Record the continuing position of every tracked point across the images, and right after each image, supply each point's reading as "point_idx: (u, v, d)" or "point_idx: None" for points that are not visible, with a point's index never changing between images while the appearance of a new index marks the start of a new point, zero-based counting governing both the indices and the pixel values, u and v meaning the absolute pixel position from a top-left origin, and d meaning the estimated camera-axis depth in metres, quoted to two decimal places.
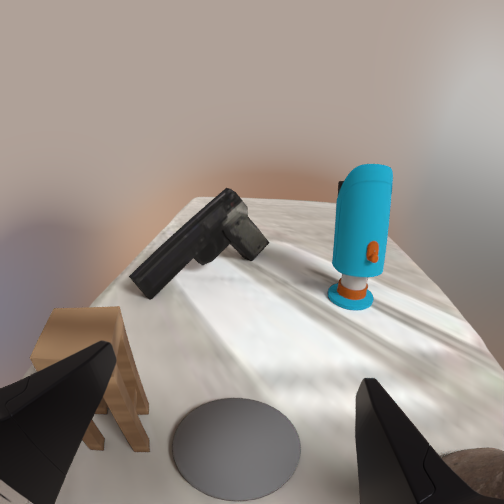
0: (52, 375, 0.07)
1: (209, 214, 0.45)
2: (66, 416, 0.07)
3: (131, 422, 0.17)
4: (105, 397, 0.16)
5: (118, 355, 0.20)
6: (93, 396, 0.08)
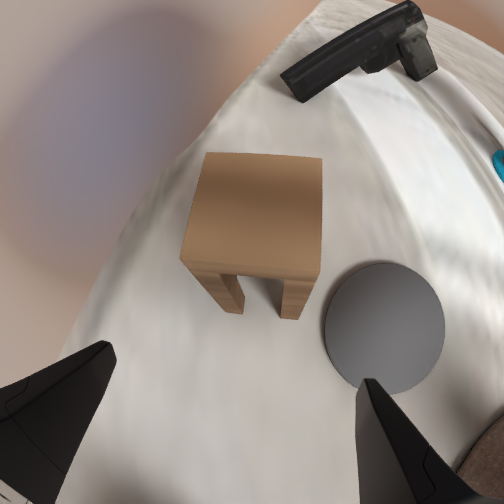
0: (52, 375, 0.07)
1: (388, 22, 0.23)
2: (66, 416, 0.07)
3: (300, 306, 0.18)
4: (285, 291, 0.15)
5: None
6: (93, 396, 0.08)
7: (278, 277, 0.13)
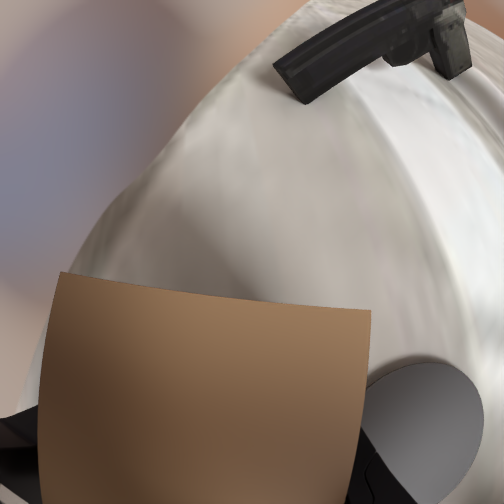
0: None
1: None
2: None
3: None
4: None
5: None
6: None
7: None
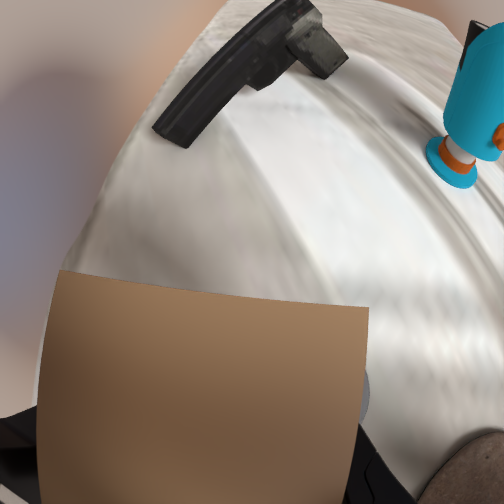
0: None
1: (265, 26, 0.22)
2: None
3: None
4: None
5: None
6: None
7: None
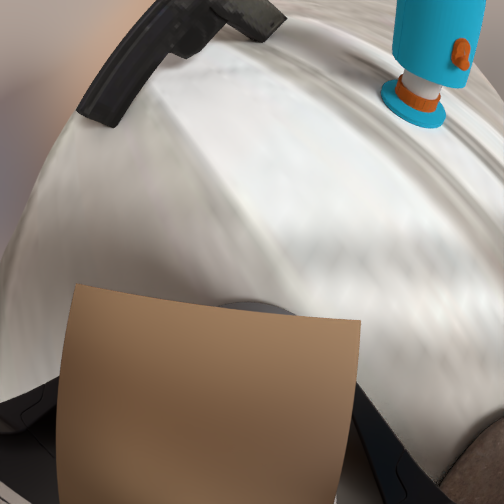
0: None
1: None
2: None
3: None
4: None
5: None
6: None
7: None
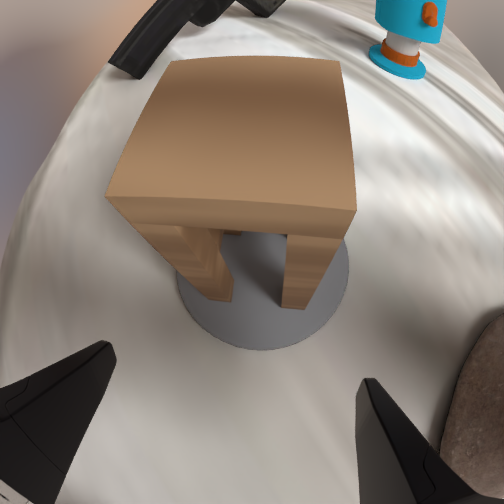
0: (52, 375, 0.07)
1: None
2: (66, 416, 0.07)
3: (311, 289, 0.12)
4: (289, 262, 0.09)
5: None
6: (93, 396, 0.08)
7: (276, 229, 0.07)
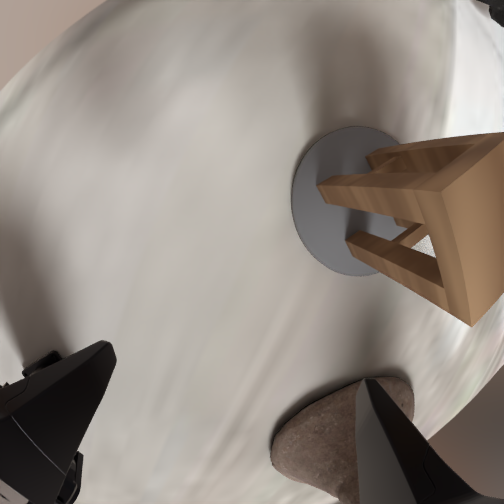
0: (52, 375, 0.07)
1: None
2: (66, 416, 0.07)
3: (388, 274, 0.15)
4: (416, 276, 0.12)
5: None
6: (93, 396, 0.08)
7: (447, 286, 0.09)
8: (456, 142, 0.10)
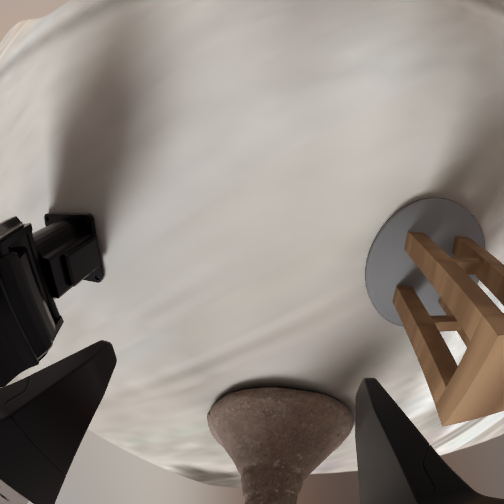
0: (52, 375, 0.07)
1: None
2: (66, 416, 0.07)
3: (412, 340, 0.16)
4: (433, 361, 0.13)
5: None
6: (93, 396, 0.08)
7: (449, 387, 0.10)
8: None
